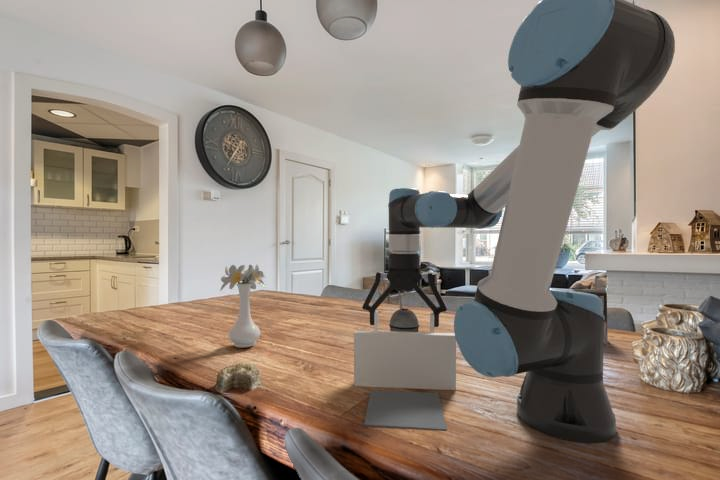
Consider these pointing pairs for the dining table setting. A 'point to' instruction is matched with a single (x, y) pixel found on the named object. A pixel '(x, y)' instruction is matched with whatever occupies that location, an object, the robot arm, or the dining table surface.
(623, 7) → the robot arm
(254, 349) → the dining table surface
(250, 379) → the cake
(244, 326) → the flower vase
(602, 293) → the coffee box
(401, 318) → the beverage cup
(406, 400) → the mat
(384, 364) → the screen
